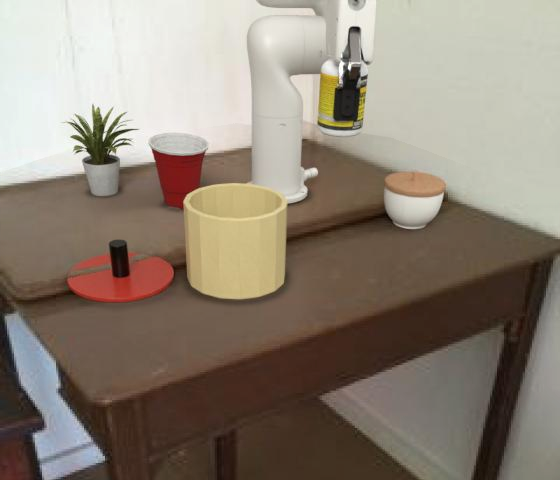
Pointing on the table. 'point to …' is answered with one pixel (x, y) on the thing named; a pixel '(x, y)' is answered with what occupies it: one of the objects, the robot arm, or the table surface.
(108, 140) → the house plant
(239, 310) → the table surface
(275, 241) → the tin
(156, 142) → the plastic cup
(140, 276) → the lid
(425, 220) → the trinket box
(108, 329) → the table surface
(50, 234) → the table surface
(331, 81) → the pill bottle
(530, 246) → the table surface
